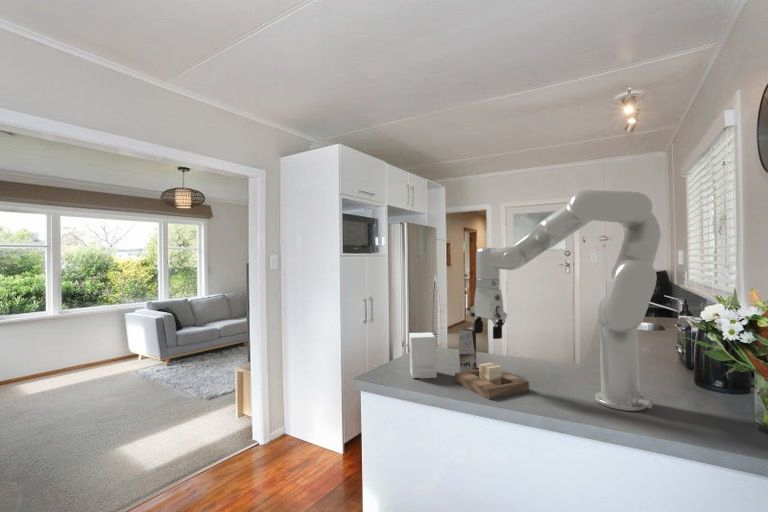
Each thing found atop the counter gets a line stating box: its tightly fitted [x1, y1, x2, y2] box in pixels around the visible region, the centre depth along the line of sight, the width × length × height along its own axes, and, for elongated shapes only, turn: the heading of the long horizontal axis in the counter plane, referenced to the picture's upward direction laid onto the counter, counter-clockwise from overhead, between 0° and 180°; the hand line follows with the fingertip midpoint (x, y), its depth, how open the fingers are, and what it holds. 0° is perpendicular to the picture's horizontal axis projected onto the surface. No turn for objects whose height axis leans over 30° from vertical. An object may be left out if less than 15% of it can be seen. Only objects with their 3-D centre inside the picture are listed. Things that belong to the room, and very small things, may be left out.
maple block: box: [478, 362, 502, 386], centre depth 125 cm, size 5×5×7 cm
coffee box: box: [458, 326, 477, 372], centre depth 143 cm, size 9×6×16 cm
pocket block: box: [454, 368, 530, 400], centre depth 125 cm, size 18×16×3 cm
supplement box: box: [408, 332, 437, 380], centre depth 139 cm, size 9×9×15 cm
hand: (487, 335), depth 125 cm, fingers open, 9 cm apart
